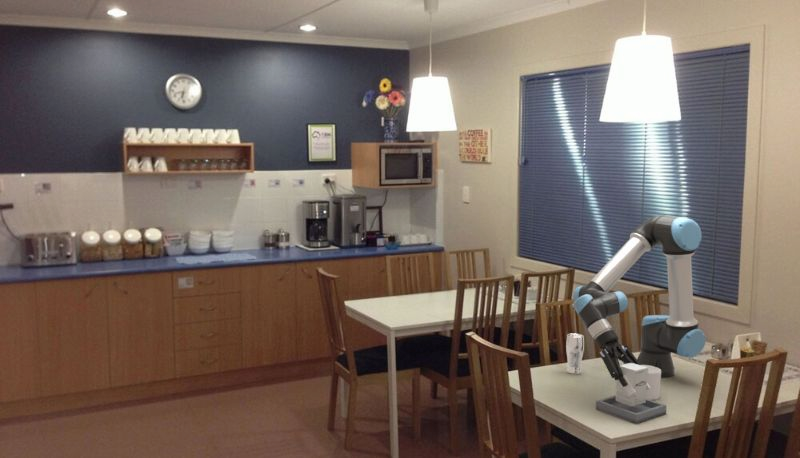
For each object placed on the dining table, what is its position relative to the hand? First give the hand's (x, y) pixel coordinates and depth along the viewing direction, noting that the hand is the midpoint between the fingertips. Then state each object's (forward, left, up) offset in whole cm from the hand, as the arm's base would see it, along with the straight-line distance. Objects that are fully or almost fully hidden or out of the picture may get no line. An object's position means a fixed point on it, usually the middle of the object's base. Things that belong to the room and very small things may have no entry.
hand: (640, 391), depth 246 cm
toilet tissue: (-18, -10, -8) cm, 22 cm away
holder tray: (0, -3, -8) cm, 9 cm away
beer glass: (-19, -44, -8) cm, 49 cm away
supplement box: (0, -3, -5) cm, 6 cm away
